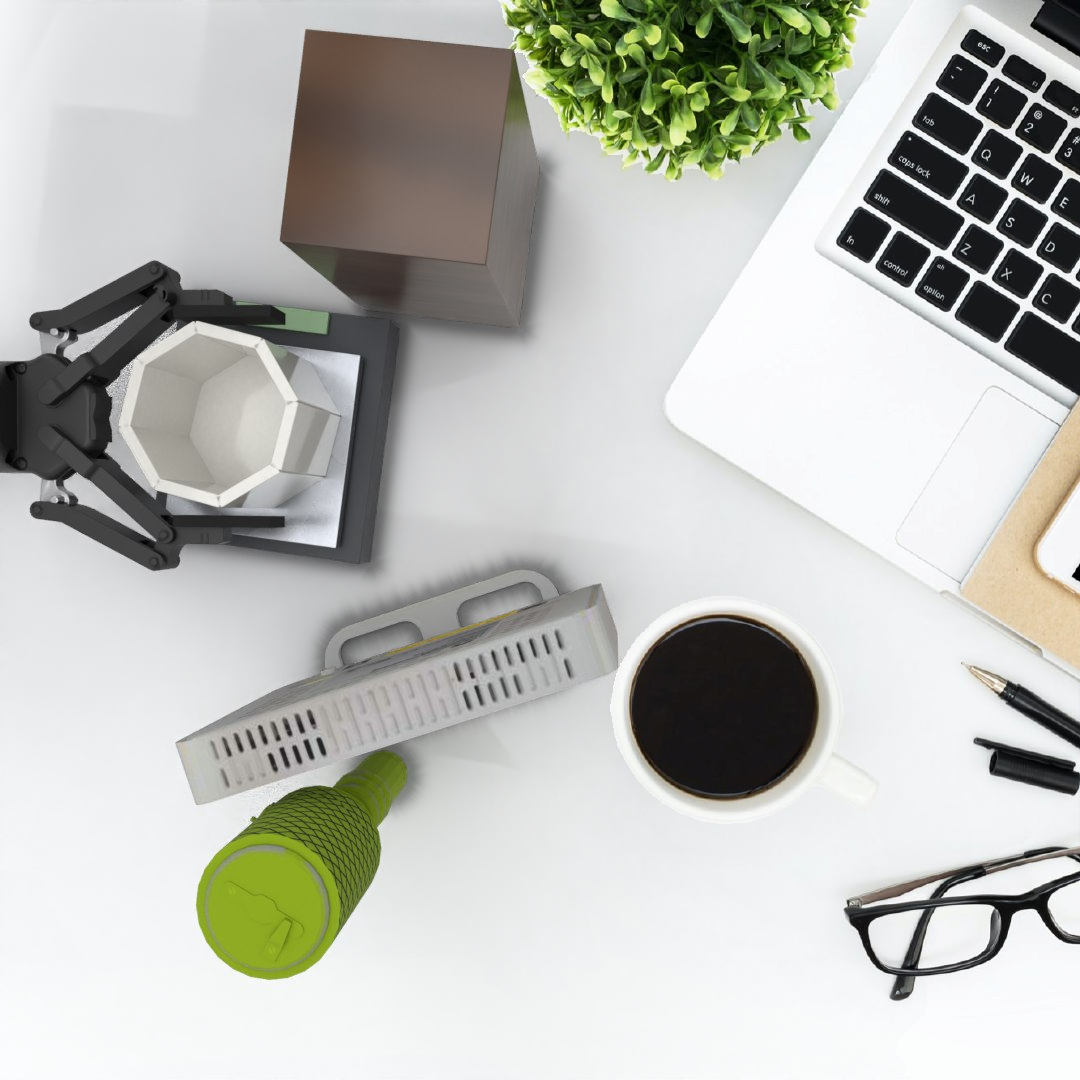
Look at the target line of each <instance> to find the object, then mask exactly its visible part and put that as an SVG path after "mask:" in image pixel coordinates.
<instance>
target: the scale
mask: <svg viewBox="0 0 1080 1080" xmlns="http://www.w3.org/2000/svg"><path fill="white" fill-rule="evenodd" d="M233 305H267V304H265V303H257V302H250V301H241V300H234V299H233ZM271 305H272V306H274V307H275V308H277V309H279V310H280V311H282V312H284V313H285V314H286V325H216V326H219V327H223V328H227V329H231V330H235V331H239V332H242V333H246V334H250V335H254V336H258V337H261V338H263V339H265V340H267V341H269V342H271V343H273V344H276V345H284V346H292V347H300V348H308V349H315V350H323V351H331V352H339V353H347V354H355V355H361V356H362V357H364V361H363V369H362V377H361V385H360V393H359V401H358V409H357V416H356V424H355V432H354V440H353V448H352V456H351V464H350V471H349V479H348V487H347V495H346V503H345V511H344V519H343V527H342V534H341V542H340V548H329V547H322V546H315V545H308V544H301V543H294V542H287V541H280V540H273V539H266V538H259V537H252V536H244V535H237V534H232V541H231V542H228V543H226V544H222V546H223V545H224V546H229V547H238V548H243V549H244V548H245V549H250V550H251V549H252V550H258V551H265V552H272V553H280V554H287V555H293V556H301V557H307V558H315V559H321V560H329V561H336V562H341V563H342V562H343V563H350V564H357V565H361V564H365V563H370V562H371V556H372V549H373V543H374V542H373V541H374V533H375V526H376V518H377V517H376V516H377V509H378V501H379V495H380V488H381V479H382V471H383V465H384V463H383V462H384V455H385V448H386V439H387V432H388V423H389V416H390V409H391V401H392V393H393V385H394V377H395V369H396V363H397V362H396V361H397V354H398V347H399V346H398V345H399V339H400V338H399V337H400V329H401V327H399V326H398V324H396V323H395V322H394V321H393V320H391V319H389V318H388V319H387V318H380V317H374V316H373V317H372V316H365V315H364V316H363V315H355V314H348V313H340V312H331V311H323V310H315V309H306V308H298V307H289V306H283V305H275V304H271ZM186 325H188V323H186V322H184V321H181V320H178V321H176V327H175V332H177V331H178V330H180V329H181V328H183V327H185V326H186ZM155 500H157V501H158V502H159V503H160V504H161V505H162V506H163V507H164V508H165V509H166V502H167V493H164V492H160V491H156V496H155Z"/></svg>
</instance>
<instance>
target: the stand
mask: <svg viewBox="0 0 1080 1080" xmlns="http://www.w3.org/2000/svg"><path fill="white" fill-rule="evenodd" d="M299 69H300V71H299V77H298V78H299V79H298V85H297V95H296V101H295V102H296V103H295V112H294V119H293V128H292V136H291V143H290V151H289V160H288V167H287V177H286V185H285V194H284V199H283V209H282V216H281V217H282V218H281V225H280V226H281V227H280V231H279V233H280V234H279V242H281V244H282V245H284V246H285V247H286V248H287V249H288V250H290V251H291V252H293V253H294V254H295V255H296V256H297V257H298V258H300V259H301V260H302V261H304V263H306V264H307V265H309V266H310V268H313V270H314V271H315V272H317V273H318V274H320V276H321V277H323V278H324V279H326V280H327V281H328V282H329V283H330V284H332V285H333V286H334V287H335V288H336V289H338V290H339V291H340V292H341V293H343V294H344V295H345V296H346V297H347V298H349V299H350V300H352V301H353V302H354V303H355V304H356V305H357V306H358V307H360V308H361V309H362V310H364V311H370V312H380V313H386V314H387V313H388V314H395V315H405V316H413V317H422V318H427V319H436V320H437V319H438V320H445V321H452V322H453V321H454V322H462V323H470V324H476V325H477V324H479V325H484V326H485V325H486V326H495V327H503V328H511V329H519V328H520V321H521V314H522V307H523V298H524V292H525V283H526V275H527V269H528V268H527V267H528V260H529V254H530V253H529V252H530V246H531V238H532V230H533V222H534V216H535V210H536V209H535V208H536V201H537V200H536V199H537V193H538V187H539V186H538V185H539V180H540V179H539V178H540V171H541V168H540V164H539V160H538V154H537V150H536V146H535V141H534V136H533V132H532V126H531V121H530V117H529V112H528V109H527V108H528V107H527V104H526V103H527V102H526V99H525V98H526V97H525V94H524V89H523V85H522V80H521V75H520V71H519V65H518V62H517V57H516V52H515V49H513V48H504V47H503V48H502V47H494V46H483V45H473V44H464V43H463V44H462V43H454V42H443V41H442V42H441V41H433V40H423V39H413V38H402V37H394V36H393V37H392V36H384V35H383V36H381V35H373V34H364V33H363V34H362V33H351V32H342V31H332V30H331V31H330V30H321V29H312V28H311V29H310V28H306V29H305V30H304V38H303V46H302V53H301V63H300V68H299Z"/></svg>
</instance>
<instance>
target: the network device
mask: <svg viewBox="0 0 1080 1080" xmlns="http://www.w3.org/2000/svg"><path fill="white" fill-rule="evenodd" d="M523 582H525V583H531V584H533V585H534V586H536V587H537V589H538V590H539V591H540V595H541V597H542V601H539V602H536V603H533V604H529V605H527V606H524V607H521V608H517V609H513V610H511V611H508V612H504V613H502V614H499V615H495V616H492V617H490V618H487V619H484V620H481V621H477V622H475V623H471V624H468V625H466V626H461V623H460V620H459V615H458V614H459V609H460V607H461V605H462V604H463V603H465V601H468V600H472V599H475V598H477V597H480V596H483V595H487V594H489V593H492V592H495V591H498V590H501V589H504V588H508V587H511V586H513V585H516V584H520V583H523ZM612 615H613V614H612V612H611V609H610V606H609V603H608V600H607V598H606V594H605V591H604V589H603V586H602V583H601V582H600V583H595V584H591V585H588V586H585V587H582V588H581V587H580V588H579V589H576V590H572V591H569V592H566V593H563V594H560V593H559V591H558V588H557V587H556V586H555V584H554V583H553V581H551V579H549V578H548V577H547V576H545V575H544V574H542V573H540V572H539V571H534V570H531V569H516V570H512V571H508V572H506V573H505V572H504V573H502V574H499V575H496V576H494V577H490V578H488V579H484V580H481V581H479V582H475V583H472V584H469V585H467V586H463V587H460V588H457V589H454V590H452V591H449V592H445V593H442V594H439V595H436V596H433V597H430V598H427V599H425V600H422V601H418V602H415V603H412V604H409V605H406V606H404V607H400V608H397V609H394V610H390V611H388V612H385V613H382V614H379V615H375V616H373V617H370V618H367V619H364V620H361V621H358V622H355V623H351V624H350V625H348V626H345V627H342V628H341V629H340V630H339V631H337V632H336V633H335V634H334V635H333V637H331V639H330V640H329V642H328V644H327V646H326V650H325V653H324V667H325V669H322V670H320V671H319V673H318V674H316V675H313V676H309V677H307V678H304V679H301V680H298V681H295V682H292V683H289V684H287V685H284V686H281V687H279V688H277V689H274V690H272V691H270V692H268V693H266V694H264V695H262V696H260V697H259V698H257V699H255V700H252V701H251V702H249V703H247V704H245V705H243V706H241V707H239V708H238V709H236V710H233V711H232V712H230V713H228V714H226V715H224V716H223V717H219V719H217V720H215V721H213V722H211V723H209V724H207V725H205V726H204V727H201V728H200V729H198V730H196V731H194V732H192V733H190V734H188V735H186V736H184V737H182V738H181V739H179V740H176V741H175V742H174V744H175V747H176V749H177V753H178V756H179V758H180V762H181V765H182V767H183V770H184V773H185V776H186V779H187V782H188V785H189V788H190V791H191V794H192V797H193V800H194V804H195V805H196V806H202V805H207V804H210V803H214V802H216V801H217V802H218V801H219V800H222V799H223V800H224V799H226V798H229V797H232V796H235V795H239V794H242V793H244V792H247V791H251V790H254V789H257V788H260V787H264V786H266V785H267V786H268V785H270V784H273V783H276V782H280V781H282V780H286V779H288V778H292V777H295V776H298V775H302V774H304V773H308V772H311V771H314V770H317V769H320V768H322V767H327V766H330V765H332V764H335V763H339V762H343V761H345V760H348V759H352V758H355V757H358V756H360V755H365V754H367V753H370V752H374V751H376V750H377V751H378V750H379V749H382V748H386V747H389V746H391V745H395V744H398V743H401V742H405V741H407V740H411V739H415V738H417V737H420V736H424V735H426V734H427V735H428V734H429V733H433V732H437V731H440V730H442V729H445V728H449V727H452V726H455V725H457V724H461V723H464V722H468V721H470V720H473V719H477V718H480V717H483V716H486V715H489V714H493V713H496V712H498V711H502V710H506V709H508V708H512V707H515V706H517V705H521V704H524V703H527V702H530V701H534V700H536V699H539V698H542V697H546V696H549V695H552V694H555V693H558V692H562V691H565V690H567V689H571V688H573V687H577V686H580V685H583V684H586V683H590V682H592V681H595V680H598V679H600V678H603V677H606V676H608V675H610V674H612V673H614V672H616V671H617V670H618V669H619V642H618V641H619V640H618V638H619V637H618V631H617V627H616V624H615V622H614V618H613V616H612ZM403 622H410V623H412V624H414V625H415V626H416V627H417V628H418V629H419V631H420V633H421V636H422V639H423V640H420V641H417V642H414V643H410V644H408V645H405V646H402V647H398V648H395V649H392V650H390V651H386V652H383V653H380V654H377V655H374V656H371V657H367V658H365V659H361V660H359V661H355V662H353V663H349V664H347V665H345V664H344V662H343V658H342V647H343V646H344V644H345V642H347V641H348V640H350V639H354V638H356V637H360V636H363V635H366V634H368V633H372V632H374V631H378V630H381V629H383V628H387V627H389V626H392V625H395V624H398V623H403Z"/></svg>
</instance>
